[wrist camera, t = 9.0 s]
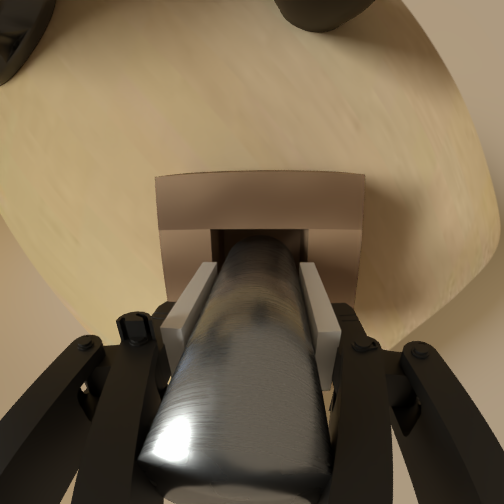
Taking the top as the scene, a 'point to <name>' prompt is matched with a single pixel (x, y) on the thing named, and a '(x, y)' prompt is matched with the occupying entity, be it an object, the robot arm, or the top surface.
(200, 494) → the peg
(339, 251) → the socket block
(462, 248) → the top surface
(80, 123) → the top surface
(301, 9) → the mug
